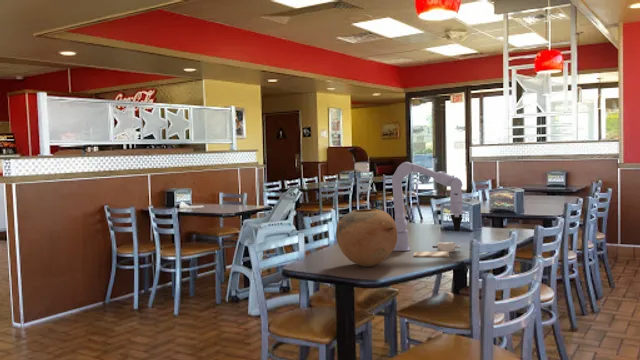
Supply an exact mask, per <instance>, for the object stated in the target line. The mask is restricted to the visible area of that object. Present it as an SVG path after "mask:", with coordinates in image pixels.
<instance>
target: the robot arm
mask: <svg viewBox="0 0 640 360" xmlns="http://www.w3.org/2000/svg"><path fill="white" fill-rule="evenodd" d="M411 173H412V174H422V175H424V176H427V177H429V178H433V179H434V181H435V183H438V184H440V185H442V186H445V187H447V188H448V187H450V192H449V193H450V194H449V198H450V199H449V201H450V202H449V203H450V206H449V207H450V211H449V213H450V219H451V221H452V224H453V230H454V232H460V231H461V223H462V221H463V219H464V217H463V214H464V213H466V211H465V210H463V188H462V187H463V182H462V180H461V179H460V178H458V177H457V176H456V177H455V175H451V174H448V173H446V171H445V170H443V171H435V170H432V169H430V168H428V167H425V166H423V165H421V164H417V163H413V162H412V163H411V162H410V161H404V162H402V163H401V164H399V166H397V168H396V170H395V172H394V173H393V176H392V177H391V183H392V184H391V185H392V195H393V196H392V197H393V204H394V222H395V224H396V227H397V243H396V246H395V248H394V250H393V251H392V252H394V251H396V252H398V251H399V252H401V251H402V252H403V251H404V252H409V251H410V250H411V247H410V245H409V243H410V241H409V230H408V229H407V228H408V225H409V223H408V221H407V219H406V213H405V205H404V204H405V203H404V193H403V184H402V183H403V182H402V181H403V180H404V179H405V178H406V177H407V176H408V175H410V174H411Z"/></svg>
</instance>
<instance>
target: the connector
mask: <svg viewBox="0 0 640 360" xmlns="http://www.w3.org/2000/svg"><path fill="white" fill-rule="evenodd" d="M432 249H437V252H449V253H450V252H452V253H454V252H456V249H461V245H456V242H454V241H453V242H452V241H451V242H450V241H448V242H447V241H445V242H437V244H436V245H432Z"/></svg>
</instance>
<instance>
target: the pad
mask: <svg viewBox="0 0 640 360" xmlns="http://www.w3.org/2000/svg"><path fill="white" fill-rule="evenodd" d="M449 257H450V252H439V251H414V253H413V258H449Z"/></svg>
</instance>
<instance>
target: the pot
mask: <svg viewBox="0 0 640 360" xmlns="http://www.w3.org/2000/svg"><path fill="white" fill-rule="evenodd" d="M335 229H336V231H335V232H336V233H335V237H336V243H337V244H338V247H339V249H340V251H341V252H342V254H343V255H344V256H345V258H347V259H348V261H350V262H351V263H354V264H355V265H358V266H361V267H365V268H367V267H374V266H377V265H379V264H380V263H381V264H382V262H383V261H385V260H386V259H387V257H389V256H390V255H391V253H393V252H394V251H393V250H394V248H395V246H396V243H397V227H396V224H395V219H394V218H393V217H392V216H391V215H390V213H388V212H386V211H384V210H380V209H378V208H366V209H365V208H364V209H353V210H352V211H350V212H348V213H346V214H345V215H343V216H342V217H341V218H340V220H339V221H338V223H337V224H336V228H335Z"/></svg>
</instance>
